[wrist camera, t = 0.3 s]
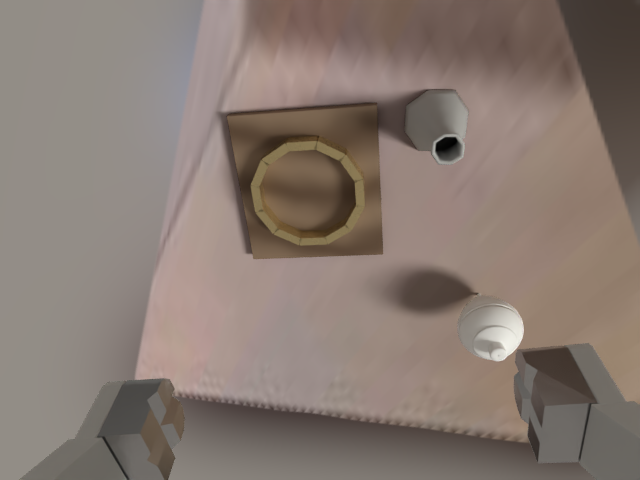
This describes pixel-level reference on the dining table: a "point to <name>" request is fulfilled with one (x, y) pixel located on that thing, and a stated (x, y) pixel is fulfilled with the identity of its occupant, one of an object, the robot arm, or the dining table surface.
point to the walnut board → (310, 178)
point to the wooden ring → (289, 231)
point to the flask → (438, 124)
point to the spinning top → (490, 328)
